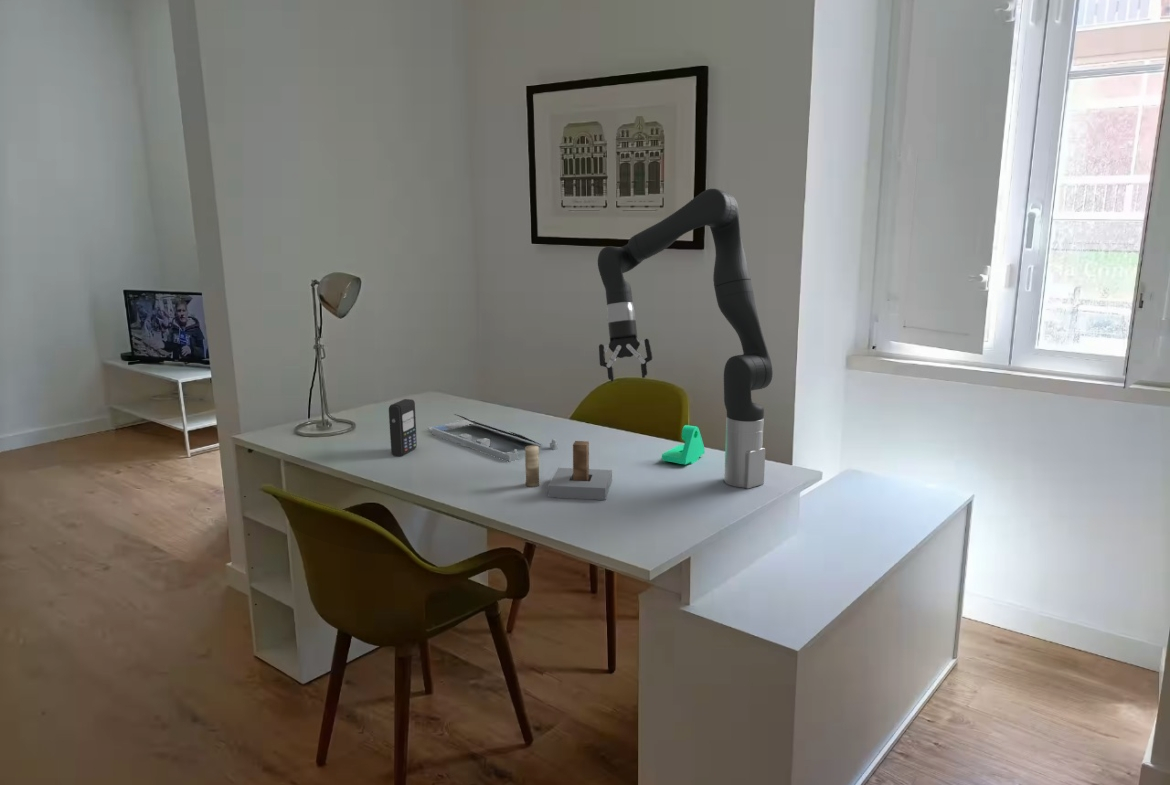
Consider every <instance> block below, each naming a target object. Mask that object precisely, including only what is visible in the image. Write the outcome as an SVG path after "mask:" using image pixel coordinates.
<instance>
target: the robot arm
mask: <svg viewBox="0 0 1170 785" xmlns="http://www.w3.org/2000/svg"><path fill="white" fill-rule="evenodd" d="M701 227H709V228H710V231H711V235H712V238H713V243H714V249H715V259H714V265H713V266H714V268H713V276H712V277H713V278H712V279H713V288H714V292H715V293H714V294H715V298H716V302H717V306H718V309H719V310H720V313H721V314H722V316H724V317H725V319H726V321H728V323H729V324H730V325H731V327H732V329H734V331H735V332H736V335H737V336H738V338H739V341H740V344H741V345H740V346H741V348H742V352H743V354H739V355H737V354H736V355H733V356H731V357H729V358H728V359H727V360H726V362H725V365H724V367H723V368H724V370H723V402H724V407H725V410H726V418H725V419H726V420H725V421H726V422H725V423H726V424H725V425H726V426H725V448H724V449H725V450H724V451H725V453H724V481H723V482H724V483H726V484H727V485H729V486H731V487H736V488H737V487H738V488H744V489H751V488H755V487H758V486H761V485H764V483H765V470H766V469H765V468H766V464H765V463H766V448H765V447H763V438H764V422H765V420H764V418H765V417H764V416H765V408H764V407H763V405H761V404H760V403H756V402H753V401H752V391H756V390H762V389H765V388H767V387H769V386H770V384H771V382H772V379H773V366H772V361H771V357H770V354H769V351H768V347H767V344H766V341H765V338H764V334H763V330H762V328H761V322H760V319H759V315H758V314H759V313H758V310H757V304H756V300H755V294H754V289H753V288H754V287H753V284H752V279H751V275H750V270H749V266H748V262H747V258H746V257H747V256H746V252H745V249H744V244H743V240H742V229H741V216H740V209H739V204H738V201H737V200H736V198H735V196H733V195H732V194H731V193H729V192H727V191H724V190H722V189H718V188H707V189H705V190H704V191H702V192H700V193H698V195H696V196H695V197H694V198H692V199H691V200H689V201H688V202H687V203H686V204H685V205H683V206H682V207H681V208H679V209H677V210H676V211H675V212H673V213H672V214H670V215H669V216H667V217H665V218H664V219H662V220H661V221H659V222H657V223H655V224H653V225H652V226H649V227H648V228H645V229H644V230H642V231H641V232H638V233H636V234H634V235H633V236H632V237H630V238H629V239H628V243H627V244H625V245H623V246H620V247H617V246H612V245H609V246H605V247H604V248H603V247H602V248H601V250H600V251H599V254H598V257H597V268H598V269H597V270H598V271H599V276H600V279H601V282H602V284H603V287H604V291H605V297H606V308H607V310H606V314H607V315H606V316H607V317H606V318H607V324H608V336H609V343H607V344H601V343H600V344H599V345H598V356H599V366H600V367H605V368H606V369H607V378H608V380H610V382H615V373H614V368H613V366H614V363H615V362H616V360H617V359H618V358H619V359H623V358H632V357H633V356H634V357H635V358H636V359H637V360H638V361H639V362H640V363H641V364H640V370H641V377H642V379H645V378H646V376H648V368H647V364H648V363H649V362H651V361H653V354H652V347H651V341H650V339H649V338H645V339H642V340H639V338H638V329H637V323H636V322H637V320H636V311H635V308H634V301H633V292H632V287H631V283H630V282H628V281H627V280H626V279H625V278H624V274H625V273H628V272H631V271H632V270H633V269H634V268H635V267H637V266H638V265H639V264H641V263H642V262H643V261H645V260H647V259H649V258H652V257H653V256H655V255H657V254H658V253H659V254H660V253H661V252H662V251H664V250H666V249H667V248H670V246H671V245H672V244H673V243H675V242H676V241H677V240H678V239H679V238H681V237H682V236H684V235H685V234H687V233H688V232H691V231H693V230H696V229H698V228H701ZM641 345H642V347H643V348H645V354H646V357H643V356H642V355H641V353H640V352H639V351H638V349H639V347H640V346H641ZM608 349H609V350H610V351H611V352H612V355H611V356H610V358H609V360H608V361H607V362H606V353H607V351H608Z"/></svg>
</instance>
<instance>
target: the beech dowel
mask: <svg viewBox="0 0 1170 785" xmlns="http://www.w3.org/2000/svg"><path fill="white" fill-rule="evenodd" d="M539 448H540V447H539V446H538V445H534V444H533V445H531V444H530V445H527V446H525V447H524V456H525V457H524V459H525V460H524V461H525V486H526V487H527V486H528V487H529V488H537V487H539V486H540V460H539V457H540V452H539V450H540V449H539Z"/></svg>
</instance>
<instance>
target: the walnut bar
mask: <svg viewBox="0 0 1170 785" xmlns="http://www.w3.org/2000/svg"><path fill="white" fill-rule="evenodd" d="M589 443H590V442H589V440H587V441H586V440H575V441H574V442H573V444H572V468H573V481H589V469H590V468H589V467H590V466H589V464H590V451H589V450H590V447H589V446H590V444H589Z"/></svg>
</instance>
